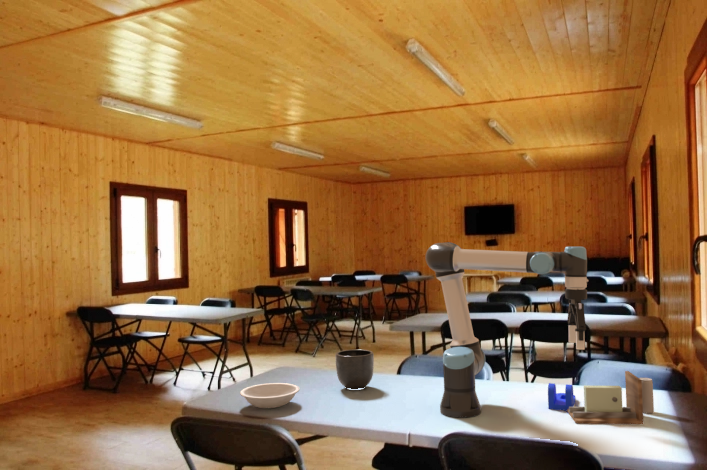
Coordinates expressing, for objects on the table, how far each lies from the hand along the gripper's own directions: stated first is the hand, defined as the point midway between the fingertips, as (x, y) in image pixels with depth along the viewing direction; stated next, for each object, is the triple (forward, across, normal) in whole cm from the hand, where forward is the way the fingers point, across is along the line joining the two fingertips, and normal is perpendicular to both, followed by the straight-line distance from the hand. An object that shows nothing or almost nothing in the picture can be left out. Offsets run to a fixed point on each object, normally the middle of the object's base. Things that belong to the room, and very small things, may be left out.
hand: (576, 346), depth 211 cm
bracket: (+25, +11, +3) cm, 28 cm away
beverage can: (+24, +2, -24) cm, 34 cm away
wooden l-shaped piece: (+24, -6, -8) cm, 26 cm away
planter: (+27, +32, +88) cm, 98 cm away
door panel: (+23, -6, -8) cm, 25 cm away
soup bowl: (+28, +2, +118) cm, 122 cm away
